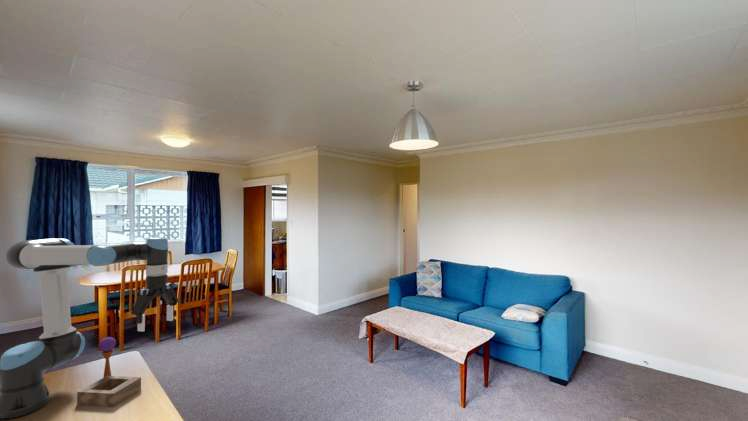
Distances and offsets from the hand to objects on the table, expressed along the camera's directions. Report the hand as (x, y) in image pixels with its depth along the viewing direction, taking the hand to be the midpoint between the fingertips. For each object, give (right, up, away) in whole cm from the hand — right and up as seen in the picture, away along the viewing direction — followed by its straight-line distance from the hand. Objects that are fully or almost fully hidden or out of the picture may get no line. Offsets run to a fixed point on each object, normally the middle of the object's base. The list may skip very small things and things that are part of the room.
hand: (156, 325), depth 137 cm
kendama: (-28, -29, +10) cm, 42 cm away
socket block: (-18, -29, -2) cm, 34 cm away
